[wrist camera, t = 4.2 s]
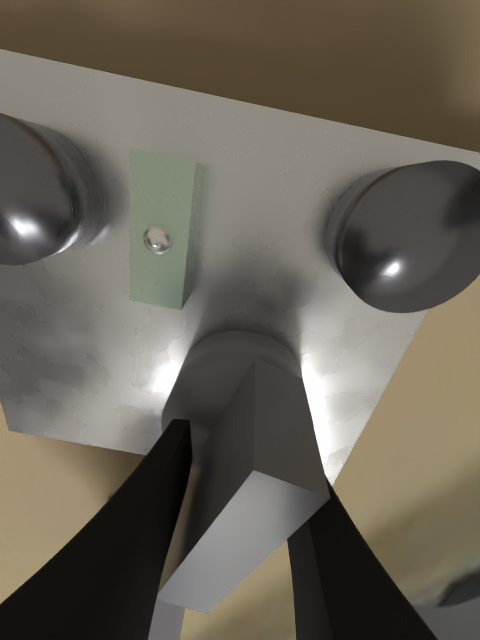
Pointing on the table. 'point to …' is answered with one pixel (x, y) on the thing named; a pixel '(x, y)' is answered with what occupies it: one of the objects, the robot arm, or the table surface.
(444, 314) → the table surface
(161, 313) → the plate
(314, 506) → the knob
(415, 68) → the table surface
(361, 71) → the table surface
